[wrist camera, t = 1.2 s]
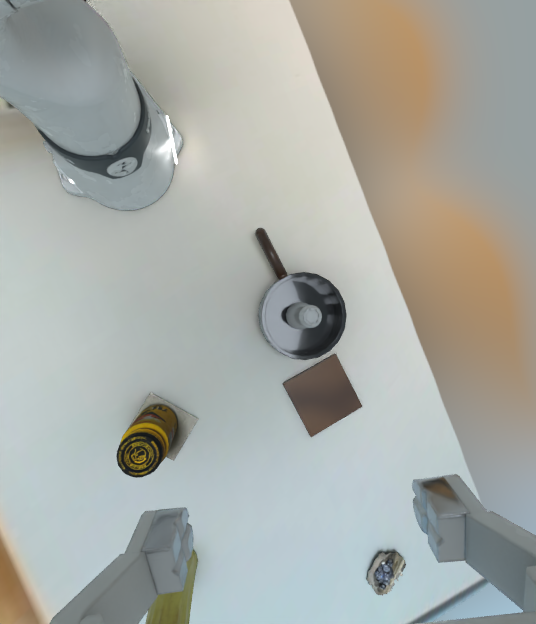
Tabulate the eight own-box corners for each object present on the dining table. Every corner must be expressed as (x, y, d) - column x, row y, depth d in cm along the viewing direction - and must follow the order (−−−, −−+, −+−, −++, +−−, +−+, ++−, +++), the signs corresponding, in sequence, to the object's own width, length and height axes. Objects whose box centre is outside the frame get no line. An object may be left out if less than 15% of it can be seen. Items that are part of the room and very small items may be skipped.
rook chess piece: (284, 328, 53) (295, 331, 45) (286, 300, 53) (298, 299, 45) (310, 330, 54) (326, 334, 46) (313, 303, 54) (329, 302, 46)
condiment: (150, 392, 50) (129, 417, 38) (198, 418, 51) (192, 450, 39) (124, 434, 50) (94, 472, 38) (174, 459, 51) (160, 505, 39)
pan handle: (252, 232, 50) (254, 229, 49) (262, 227, 50) (263, 224, 49) (279, 283, 51) (281, 282, 49) (288, 278, 51) (290, 277, 49)
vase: (201, 575, 51) (194, 675, 37) (161, 587, 51) (139, 694, 36) (193, 538, 51) (183, 624, 37) (153, 550, 50) (127, 643, 36)
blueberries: (405, 548, 57) (412, 556, 55) (401, 594, 56) (407, 604, 55) (369, 548, 56) (374, 556, 54) (364, 595, 56) (369, 605, 54)
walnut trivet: (282, 383, 53) (283, 384, 53) (334, 353, 55) (335, 354, 54) (310, 435, 54) (311, 437, 53) (360, 405, 55) (362, 406, 55)
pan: (244, 298, 52) (246, 297, 48) (314, 261, 54) (322, 257, 50) (281, 370, 53) (286, 375, 49) (350, 332, 55) (360, 333, 51)
